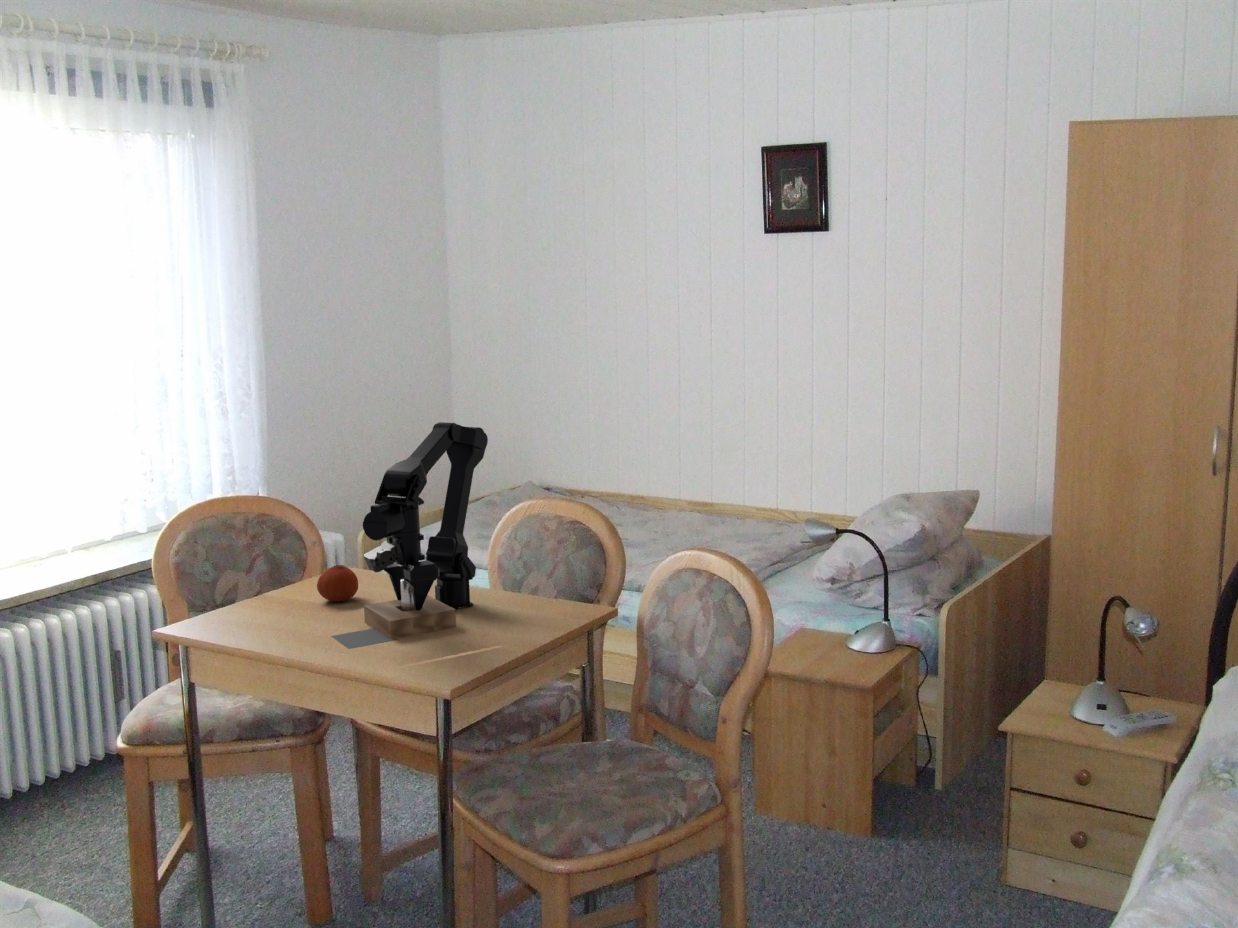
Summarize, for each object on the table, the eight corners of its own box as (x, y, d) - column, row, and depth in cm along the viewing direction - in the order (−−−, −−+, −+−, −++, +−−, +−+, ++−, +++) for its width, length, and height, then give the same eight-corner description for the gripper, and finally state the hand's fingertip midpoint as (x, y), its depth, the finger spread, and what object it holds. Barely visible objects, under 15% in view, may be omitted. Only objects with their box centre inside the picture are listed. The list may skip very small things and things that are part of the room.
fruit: (319, 596, 279) (316, 561, 277) (359, 594, 280) (357, 559, 279) (316, 607, 270) (314, 571, 269) (358, 604, 272) (356, 568, 270)
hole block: (427, 612, 264) (426, 594, 263) (456, 628, 252) (455, 609, 252) (364, 624, 257) (363, 605, 256) (391, 640, 245) (390, 621, 244)
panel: (378, 629, 253) (378, 627, 253) (397, 641, 245) (397, 639, 245) (331, 637, 248) (330, 635, 248) (349, 650, 239) (348, 648, 239)
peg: (414, 623, 257) (411, 576, 255) (419, 626, 254) (417, 579, 252) (400, 625, 255) (397, 578, 253) (406, 629, 252) (403, 581, 251)
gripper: (350, 527, 255) (354, 601, 257) (385, 543, 239) (389, 622, 242) (401, 520, 261) (405, 592, 263) (438, 535, 245) (442, 612, 248)
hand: (409, 604), depth 254 cm, fingers open, 9 cm apart
